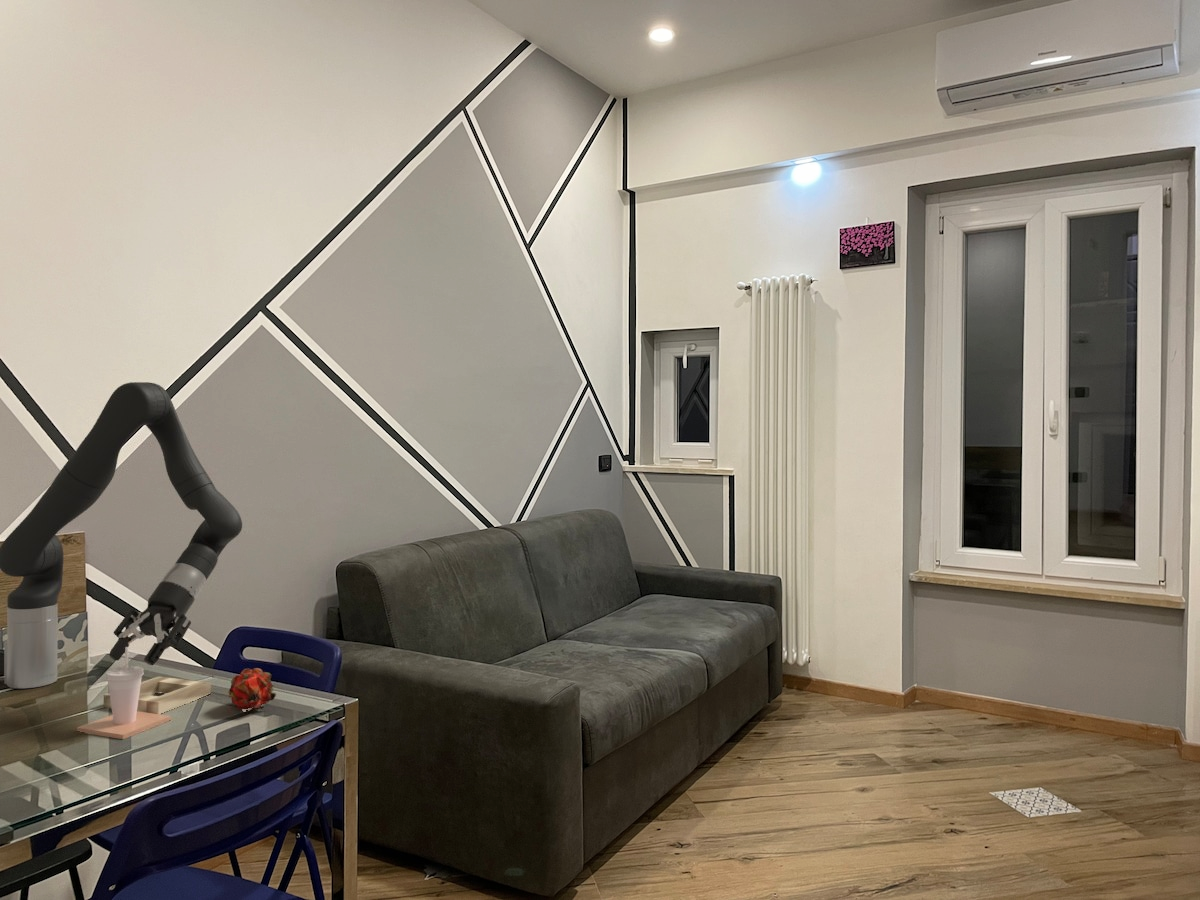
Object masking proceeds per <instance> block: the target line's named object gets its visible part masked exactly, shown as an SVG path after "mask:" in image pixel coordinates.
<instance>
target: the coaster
mask: <svg viewBox="0 0 1200 900" xmlns="http://www.w3.org/2000/svg"><path fill="white" fill-rule="evenodd" d="M171 719H172V718H171V715H166V714H153V713H146V712H139V711H137V714H136V720H135V721H134V722H132V723H128V724H114V722H113V715H112V714H110V715H108V716H105V717H102V718H99V719H97V720H94V721H91V722H88V723H86V724H83V725H81V726H77V728H76V732H77V731H80V732H79V733H81V732H85V733H84V734H88V733H89V735H94V734H95V735H94V736H102V737H108V738H115V739H120V740H125V739H127V738H130V737H132V736H135V735H137V734H140V733H142V732H144V731H147V730H149V729H152V728H154V727H155V728H156V727H158V726H160V725H162V724H165V723H167V722H169V720H170V721H171Z"/></svg>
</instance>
